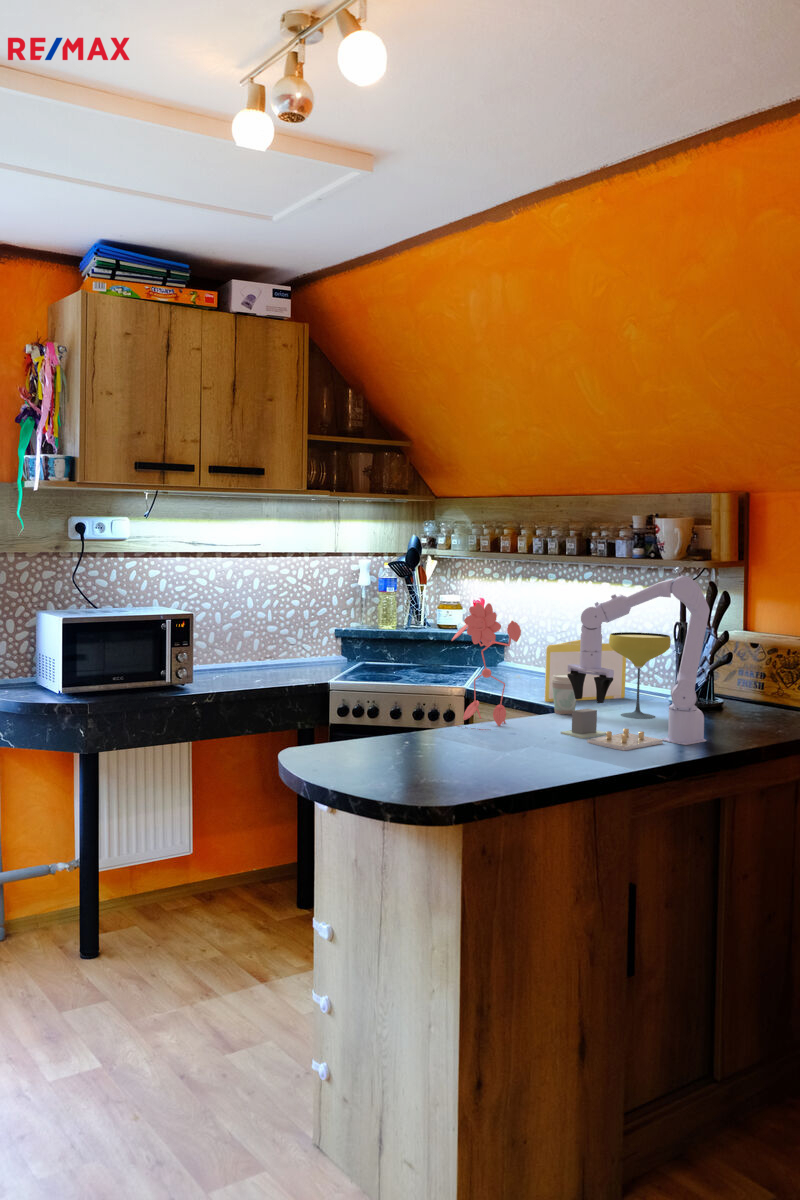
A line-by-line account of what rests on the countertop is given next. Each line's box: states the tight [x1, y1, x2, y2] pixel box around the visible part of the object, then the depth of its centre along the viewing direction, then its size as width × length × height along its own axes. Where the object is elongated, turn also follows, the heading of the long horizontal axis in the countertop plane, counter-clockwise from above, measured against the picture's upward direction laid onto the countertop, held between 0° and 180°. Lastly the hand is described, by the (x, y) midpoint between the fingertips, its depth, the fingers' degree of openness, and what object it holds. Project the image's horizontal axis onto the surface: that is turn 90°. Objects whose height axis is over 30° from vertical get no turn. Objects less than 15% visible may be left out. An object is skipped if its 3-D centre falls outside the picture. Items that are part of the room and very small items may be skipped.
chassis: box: [586, 728, 664, 752], centre depth 262 cm, size 16×12×3 cm
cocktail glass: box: [608, 631, 672, 720], centre depth 302 cm, size 18×18×25 cm
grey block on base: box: [560, 708, 607, 740], centre depth 273 cm, size 10×8×7 cm
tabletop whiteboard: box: [544, 638, 627, 703], centre depth 335 cm, size 35×22×20 cm, turn 150°
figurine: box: [450, 602, 522, 731], centre depth 284 cm, size 15×26×35 cm, turn 45°
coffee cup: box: [551, 674, 577, 715], centre depth 304 cm, size 8×8×12 cm
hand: (589, 700), depth 271 cm, fingers open, 7 cm apart
